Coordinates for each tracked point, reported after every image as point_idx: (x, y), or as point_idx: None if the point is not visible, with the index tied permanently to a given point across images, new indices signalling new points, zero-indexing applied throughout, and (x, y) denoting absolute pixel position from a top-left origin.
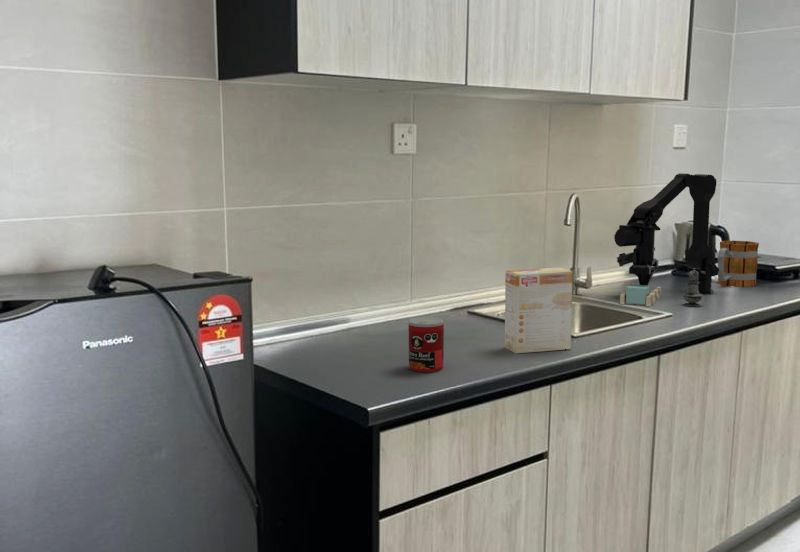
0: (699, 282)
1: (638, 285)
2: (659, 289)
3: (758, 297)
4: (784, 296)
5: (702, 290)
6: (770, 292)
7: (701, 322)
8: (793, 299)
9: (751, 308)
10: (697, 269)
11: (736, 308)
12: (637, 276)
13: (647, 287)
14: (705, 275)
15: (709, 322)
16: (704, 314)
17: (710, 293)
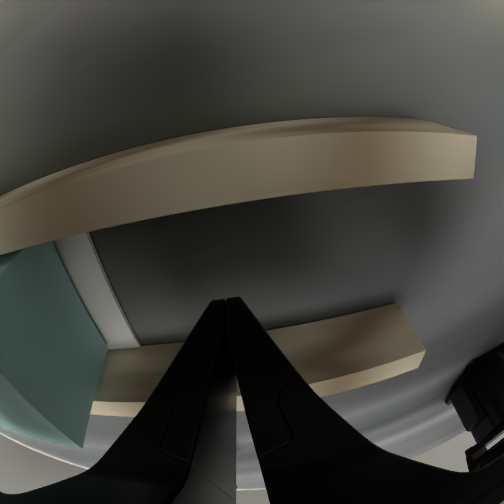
0: (472, 415)
1: (1, 394)
2: (345, 385)
3: (409, 447)
4: (424, 450)
5: (455, 398)
6: (463, 425)
7: (27, 444)
8: None
9: (259, 486)
10: (498, 449)
11: (237, 481)
12: (82, 473)
13: (19, 433)
14: (473, 446)
15: (41, 452)
16: (96, 459)
17: (445, 402)
